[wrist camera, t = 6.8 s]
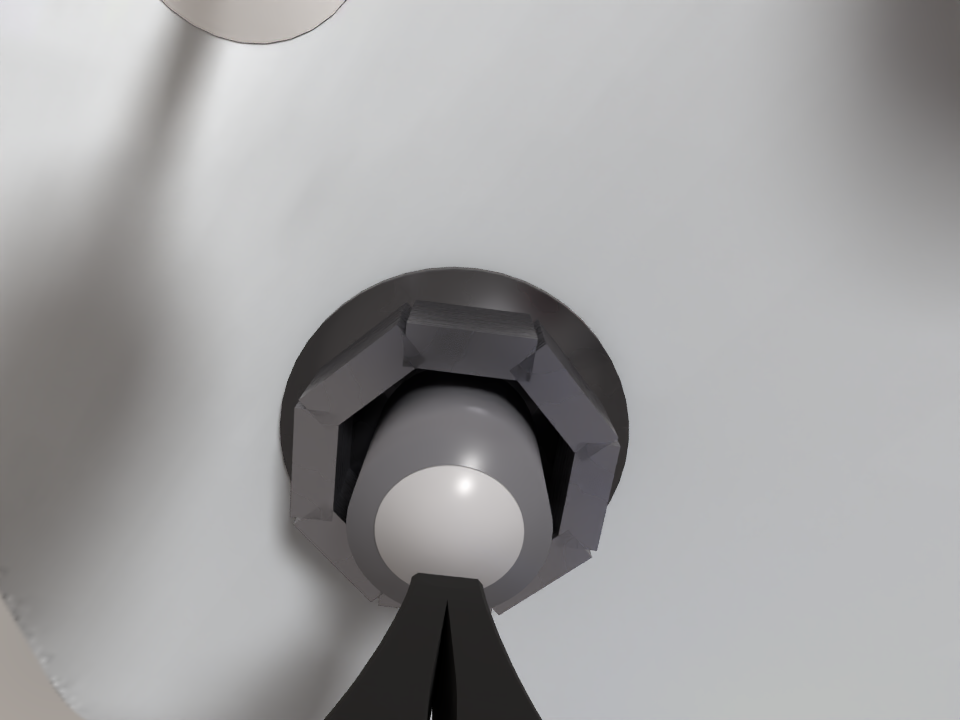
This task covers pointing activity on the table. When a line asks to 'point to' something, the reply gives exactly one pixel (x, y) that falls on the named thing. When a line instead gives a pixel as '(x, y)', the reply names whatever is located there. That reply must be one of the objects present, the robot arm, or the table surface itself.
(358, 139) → the table surface
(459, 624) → the robot arm
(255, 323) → the table surface
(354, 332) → the socket
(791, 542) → the table surface
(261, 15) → the champagne flute
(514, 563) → the cap
